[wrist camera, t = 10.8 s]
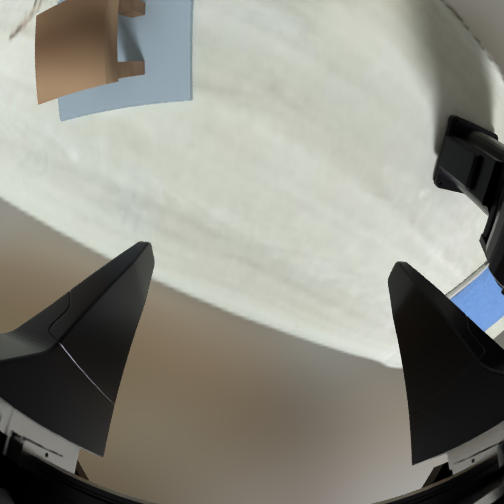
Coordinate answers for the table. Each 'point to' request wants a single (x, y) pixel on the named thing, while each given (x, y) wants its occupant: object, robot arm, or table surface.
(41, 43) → the walnut stool
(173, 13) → the slate mat
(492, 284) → the tablet computer
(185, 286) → the table surface
